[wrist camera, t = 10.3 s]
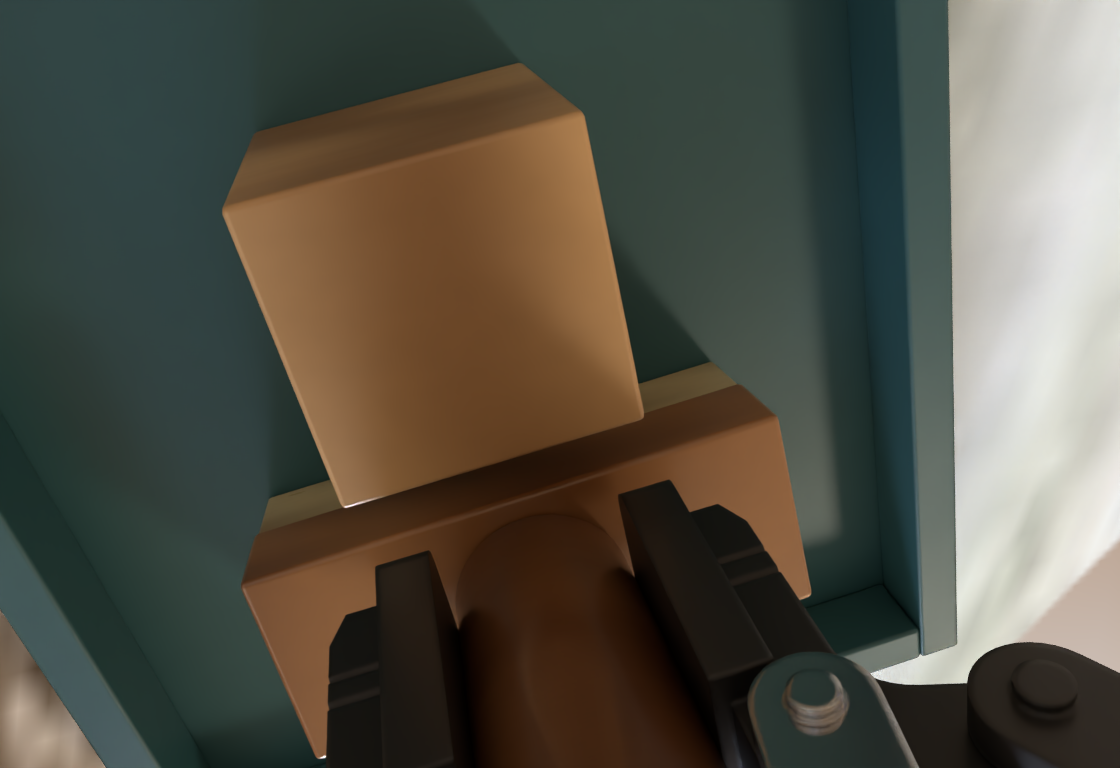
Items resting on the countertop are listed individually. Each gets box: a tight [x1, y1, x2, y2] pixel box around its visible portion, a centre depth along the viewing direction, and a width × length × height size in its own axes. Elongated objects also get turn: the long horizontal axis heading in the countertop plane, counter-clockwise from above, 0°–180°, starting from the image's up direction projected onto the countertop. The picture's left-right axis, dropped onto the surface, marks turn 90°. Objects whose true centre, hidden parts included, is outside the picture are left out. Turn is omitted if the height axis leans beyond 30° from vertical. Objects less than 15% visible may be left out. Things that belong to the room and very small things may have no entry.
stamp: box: [241, 362, 811, 768], centre depth 12 cm, size 8×3×9 cm, turn 103°
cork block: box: [222, 63, 644, 508], centre depth 13 cm, size 4×4×4 cm
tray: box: [0, 0, 957, 768], centre depth 14 cm, size 16×22×2 cm
